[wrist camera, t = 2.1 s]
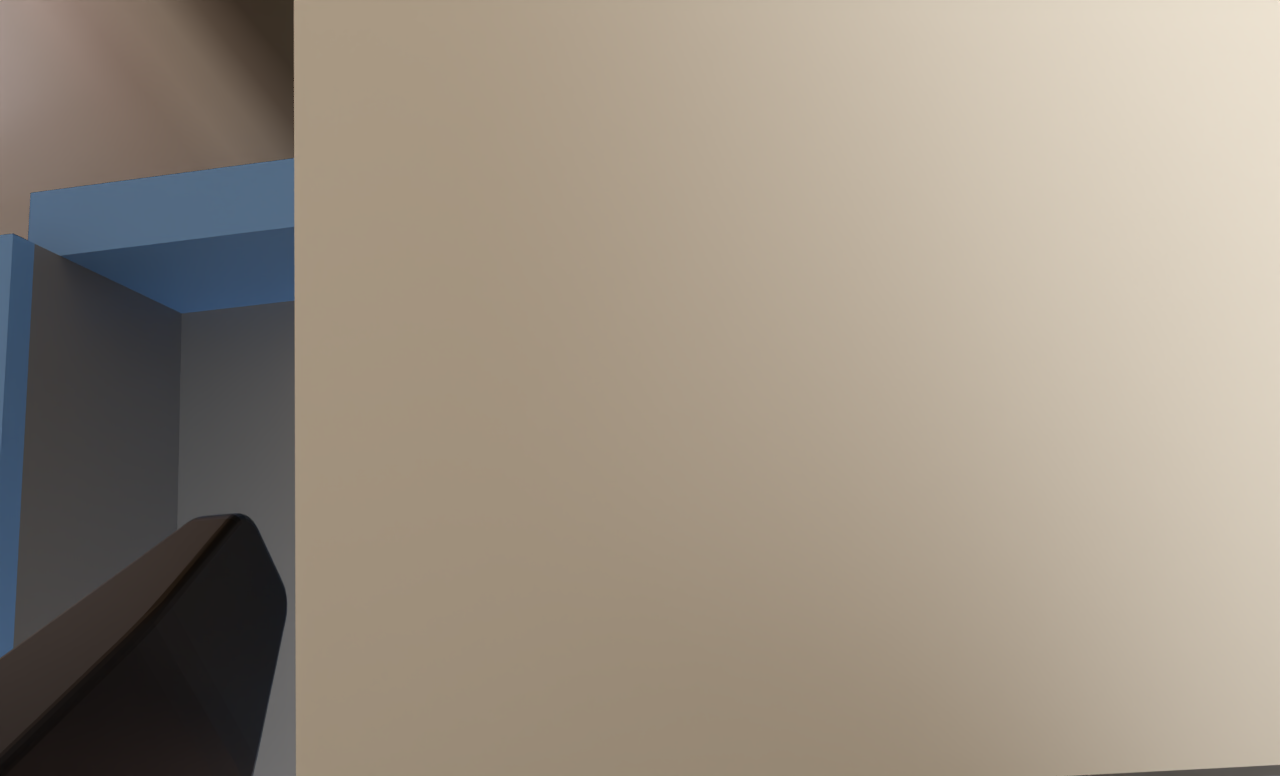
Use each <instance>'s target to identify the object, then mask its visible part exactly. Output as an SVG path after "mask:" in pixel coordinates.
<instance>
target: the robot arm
mask: <svg viewBox="0 0 1280 776" xmlns="http://www.w3.org/2000/svg"><path fill="white" fill-rule="evenodd" d="M286 616H287V595H286V590H285V587H284V584H283V581H282V579H281V577H280V575H279V573H278V570H277V568H276V566H275V564H274V562H273V560H272V557H271V555H270V553H269V551H268V549H267V547H266V545H265V542H264V540H263V538H262V536H261V534H260V532H259V530H258V528H257V526H256V524H255V523H254V521H253V520H252V519H251V518H250V517H248V516H247V515H244V514H241V513H232V514H220V515H209V516H201V517H197V518H194V519H192V520H190V521H189V522H187V523H186V524H184V525H183V526H182V527H180V528H179V529H178V530H176V531H175V532H173V533H172V534H171V535H169V536H168V537H166V538H165V539H164V540H162V541H161V542H160V543H158V544H157V545H155V546H154V547H153V548H151V549H150V550H149V551H147V552H146V553H144V554H143V555H142V556H140V557H139V558H137V559H136V560H135V561H133V562H132V563H131V564H129V565H128V566H126V567H125V568H124V569H122V570H121V571H120V572H118V573H117V574H115V575H114V576H113V577H111V578H110V579H108V580H107V581H106V582H104V583H103V584H102V585H100V586H99V587H97V588H96V589H95V590H93V591H92V592H91V593H89V594H88V595H86V596H85V597H84V598H82V599H81V600H79V601H78V602H77V603H75V604H74V605H73V606H71V607H70V608H68V609H67V610H66V611H64V612H63V613H62V614H60V615H59V616H57V617H56V618H55V619H53V620H52V621H50V622H49V623H48V624H46V625H45V626H44V627H42V628H41V629H39V630H38V631H37V632H35V633H34V634H33V635H31V636H30V637H28V638H27V639H26V640H24V641H23V642H21V643H20V644H19V645H17V646H16V647H15V648H13V649H12V650H10V651H9V652H8V653H6V654H5V655H4V656H2V657H1V658H0V776H253V773H254V769H255V765H256V761H257V756H258V751H259V747H260V742H261V737H262V732H263V727H264V723H265V718H266V713H267V708H268V703H269V699H270V694H271V689H272V684H273V679H274V675H275V670H276V665H277V660H278V655H279V651H280V646H281V641H282V636H283V631H284V627H285V622H286Z"/></svg>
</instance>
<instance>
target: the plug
mask: <svg viewBox="0 0 1280 776" xmlns="http://www.w3.org/2000/svg"><path fill="white" fill-rule="evenodd" d="M294 262H295V639H296V776H1272V775H1280V0H294Z"/></svg>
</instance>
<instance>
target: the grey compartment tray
mask: <svg viewBox="0 0 1280 776" xmlns="http://www.w3.org/2000/svg"><path fill="white" fill-rule="evenodd" d="M232 513H241V514H244V515H247V516H248V517H250V518H251V519H252V520H253V521H254V523H255V524H256V526H257V528H258V530H259V532H260V534H261V536H262V538H263V540H264V542H265V545H266V547H267V549H268V551H269V553H270V555H271V557H272V560H273V562H274V564H275V566H276V568H277V570H278V573H279V575H280V577H281V579H282V581H283V584H284V587H285V590H286V595H287V616H286V622H285V627H284V631H283V636H282V641H281V646H280V651H279V655H278V660H277V665H276V670H275V675H274V679H273V684H272V689H271V694H270V699H269V703H268V708H267V713H266V718H265V723H264V727H263V732H262V737H261V742H260V747H259V751H258V756H257V761H256V765H255V769H254V773H253V776H296V639H295V262H294V158H291V159H283V160H276V161H268V162H261V163H253V164H246V165H238V166H230V167H223V168H215V169H208V170H200V171H193V172H185V173H177V174H170V175H162V176H155V177H147V178H139V179H132V180H124V181H117V182H109V183H102V184H94V185H86V186H79V187H71V188H64V189H56V190H49V191H41V192H33V193H31V195H30V213H29V231H28V240H26V239H24V238H22V237H19V236H17V235H15V234H5V235H0V658H1V657H2V656H4V655H5V654H6V653H8V652H9V651H10V650H12V649H13V648H15V647H16V646H17V645H19V644H20V643H21V642H23V641H24V640H26V639H27V638H28V637H30V636H31V635H33V634H34V633H35V632H37V631H38V630H39V629H41V628H42V627H44V626H45V625H46V624H48V623H49V622H50V621H52V620H53V619H55V618H56V617H57V616H59V615H60V614H62V613H63V612H64V611H66V610H67V609H68V608H70V607H71V606H73V605H74V604H75V603H77V602H78V601H79V600H81V599H82V598H84V597H85V596H86V595H88V594H89V593H91V592H92V591H93V590H95V589H96V588H97V587H99V586H100V585H102V584H103V583H104V582H106V581H107V580H108V579H110V578H111V577H113V576H114V575H115V574H117V573H118V572H120V571H121V570H122V569H124V568H125V567H126V566H128V565H129V564H131V563H132V562H133V561H135V560H136V559H137V558H139V557H140V556H142V555H143V554H144V553H146V552H147V551H149V550H150V549H151V548H153V547H154V546H155V545H157V544H158V543H160V542H161V541H162V540H164V539H165V538H166V537H168V536H169V535H171V534H172V533H173V532H175V531H176V530H178V529H179V528H180V527H182V526H183V525H184V524H186V523H187V522H189V521H190V520H192V519H194V518H197V517H201V516H209V515H220V514H232ZM1272 776H1280V775H1272Z"/></svg>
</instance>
